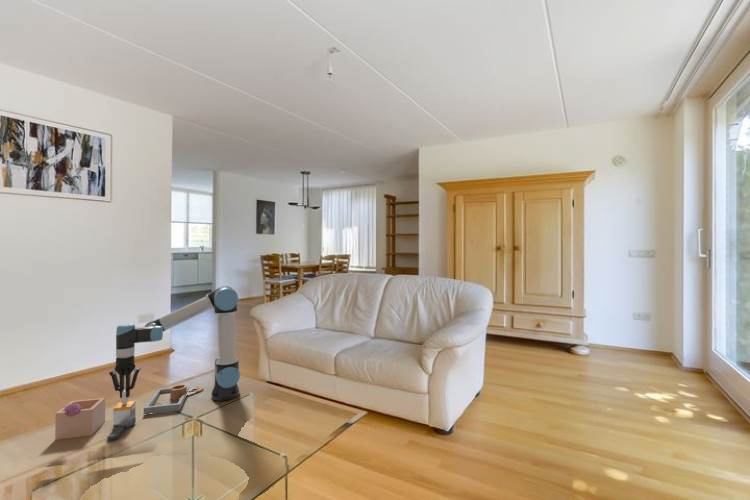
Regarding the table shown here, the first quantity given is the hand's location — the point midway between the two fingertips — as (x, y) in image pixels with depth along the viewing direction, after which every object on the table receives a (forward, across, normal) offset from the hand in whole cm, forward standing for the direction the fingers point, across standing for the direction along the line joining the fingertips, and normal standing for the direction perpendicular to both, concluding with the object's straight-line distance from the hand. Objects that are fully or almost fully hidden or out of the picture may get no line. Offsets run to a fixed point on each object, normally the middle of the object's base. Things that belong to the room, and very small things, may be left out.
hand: (124, 403), depth 173 cm
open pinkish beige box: (+11, +18, -1) cm, 21 cm away
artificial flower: (+5, +20, -6) cm, 21 cm away
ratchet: (+11, 0, 0) cm, 11 cm away
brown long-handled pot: (+11, -22, -30) cm, 39 cm away
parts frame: (+11, -14, -23) cm, 29 cm away
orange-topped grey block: (+8, 0, 0) cm, 8 cm away
